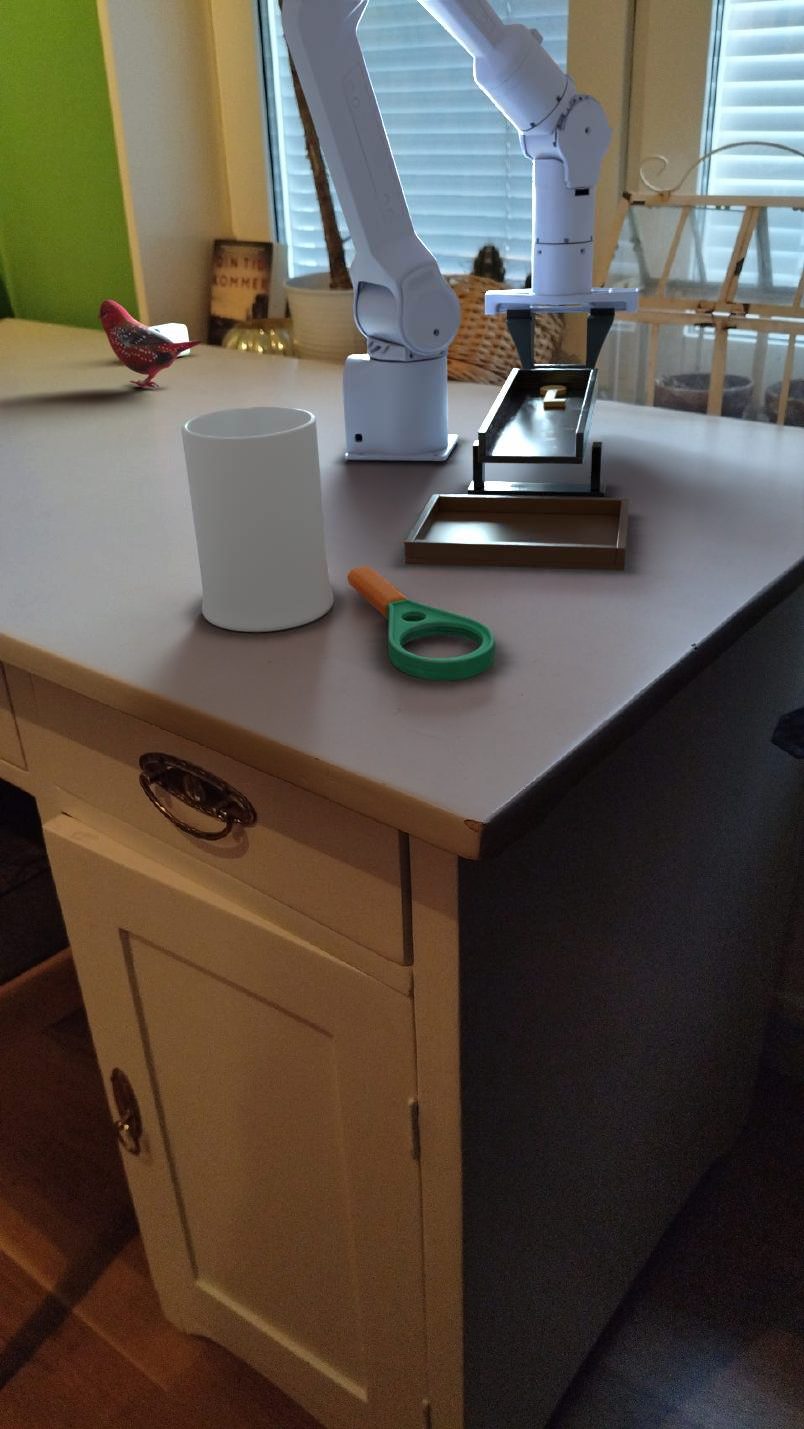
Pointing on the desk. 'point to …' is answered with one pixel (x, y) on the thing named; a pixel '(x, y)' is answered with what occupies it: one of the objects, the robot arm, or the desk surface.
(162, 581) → the desk surface
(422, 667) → the magnifying glass
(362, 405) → the robot arm
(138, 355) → the decorative bird figurine
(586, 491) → the stand
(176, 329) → the usb wall charger
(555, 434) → the dark sloped chute
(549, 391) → the key
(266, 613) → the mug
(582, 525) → the tray
